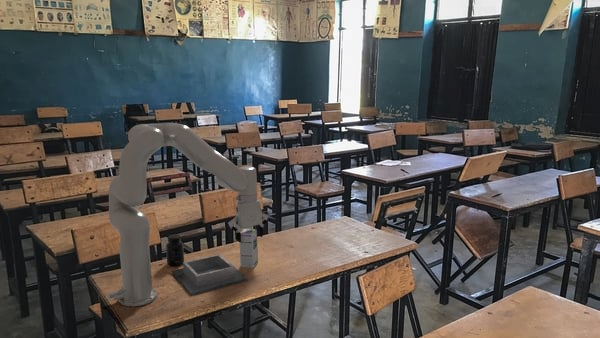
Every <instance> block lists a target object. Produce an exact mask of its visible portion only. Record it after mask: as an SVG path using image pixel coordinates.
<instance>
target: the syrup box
mask: <svg viewBox="0 0 600 338" xmlns="http://www.w3.org/2000/svg"><path fill="white" fill-rule="evenodd" d="M239 232H240V233H241V242H239V257H240V259H239V260H240V267H241V268H247V269H248V268H249V269H252V268H253V269H254V268H255V267H256V266H257V264H258V263H259V260H258V259H259V256H258V251H259V250H258V233H257V229H255V228H242V231H241V230H240V231H239Z"/></svg>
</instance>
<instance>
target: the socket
mask: <svg viewBox="0 0 600 338" xmlns="http://www.w3.org/2000/svg"><path fill="white" fill-rule="evenodd" d="M171 274H172V275H173V276H174V277H175V279H176V280H177V281H178V282H179V283H180V284H181V285H182V287H183V288H184V289H185V290H186V292H187V293H188V294H189V295H190V296H194V295H198V294H203V293H207V292H210V291H213V290H218V289H222V288H224V287H225V288H226V287H229V286H232V285H236V284H240V283H244V282H248V280H249V277H247V276H246V275H245V274H243V273H242V272H241V271H240V270H239V269H237V268H236V266H234V265H233V264H232V263H231V262H230V261H228V260H227V259H226V258H225V257H224V256H223V255H222V254H220V253H219V254H215V255H210V256H205V257H201V258H195V259H191V260H187V261H184V262H183V265H182V268H179V269H173V270H171Z"/></svg>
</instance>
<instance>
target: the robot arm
mask: <svg viewBox="0 0 600 338" xmlns="http://www.w3.org/2000/svg"><path fill="white" fill-rule="evenodd" d="M127 139H128V142H127V144H126V145H125V146H124V148H123V150H122V152H121V154H120V158H119V170H118V175H116V176H115V177H113V179H112V181H111V182H110V184H109V188H108V217H109V218H108V219H109V222H110V225H111V226H112V228H114V230H116V232H118V233H119V235H120V239H119V259H120V270H121V281H122V285H120V288H119V289H117V291H111V292H108V293H107V295H108V299H109V300H110V299H113V300H114V301H115V300H116V301H117V300H118V303H119V304H120V303H121V304H120V305H122V306H124V307H130V306H131V308H132V307H140V306H145V305H149V304H150V303H152V302H154V301H155V300H156V299H157V297H158V291H157V289H155V288H154V287H153V277H152V264H151V263H152V262H151V253H150V251H151V249H150V235H151V234H150V233H151V223H150V220H149V218H148V217H147V215H146V214H145V213H144V212H142V211H141V210H139V209H138V207H140V206H141V205H142V204H143V203H144V202H145V201H146V198H147V194H148V192H147V189H148V187H147V179H148V178H147V171H148V163H149V161H150V158H151V157H152V156H153V155H154V154H155V153H156V152H157V151H159V150H160V149H161V148H162V147H173V148H175V149H176V150H177V151H179V152H180V153H181V154H183V156H185V157H186V158H187V159H188V160H189V161H191V162H192V163H193V164H194V165H195V166H196V167H198V168H200V169H201V170H204V171H205V172H207V173H210V174H212V175H213V176H215V181H216V183H217V184H218V186H220V187H222V188H225V189H228V190H231V191H233V192H236V193H237V196H235V197H234V199H235V201H236V207H235V216H234V217H233V218H232V219H231V220H230V221H228V223H227V224H228V226H229V227H230V229H231V230H232V231H234V238H235V240H236V241H237V242H238V243H240V242H241V233H240V232H241V230H242V229H247V228H249V227H250V228H251V227H255V226H257V227H256V228H257V229H256V230H257V237H258V236H259V237H260V238H262V237H263V235H264V227H265V224H267V221H268V218H269V215H268V214H265V213H264V212H263V211H262V207H261V205H262V204H261V201H260V199H258V181H257V169H256V167H254V166H249V165H248V166H247V165H246V166H245V165H244V166H241V167H238V166H237V165H235V164H234V163H233V162H232V161H231V160H229V159H228V158H227V157H225V156H224V155H223V154H221V153H220V152H219V151H217V150H215V149H214V148H213V147H212V146H210V145H209V144H208V142H206V141H205V140H204V139H202V137H200V135H199V134H197V132H195V131H194V130H193V129H191V128H190V127H189V126H188V125H185V124H181V123H177V122H166V123H140V124H136V125H134V126H132V127H131V128H130V130H129V131H128V135H127ZM234 224H236V225H235V226H234Z"/></svg>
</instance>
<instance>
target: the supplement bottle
mask: <svg viewBox="0 0 600 338" xmlns="http://www.w3.org/2000/svg"><path fill="white" fill-rule="evenodd" d="M165 251H166V264H167V266H168V267H171V268H177V267H181V266H183V262H185V252H184V243H183V242H182V241H181V235H180V234H170V235H168V237H167V242H166V245H165Z"/></svg>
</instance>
